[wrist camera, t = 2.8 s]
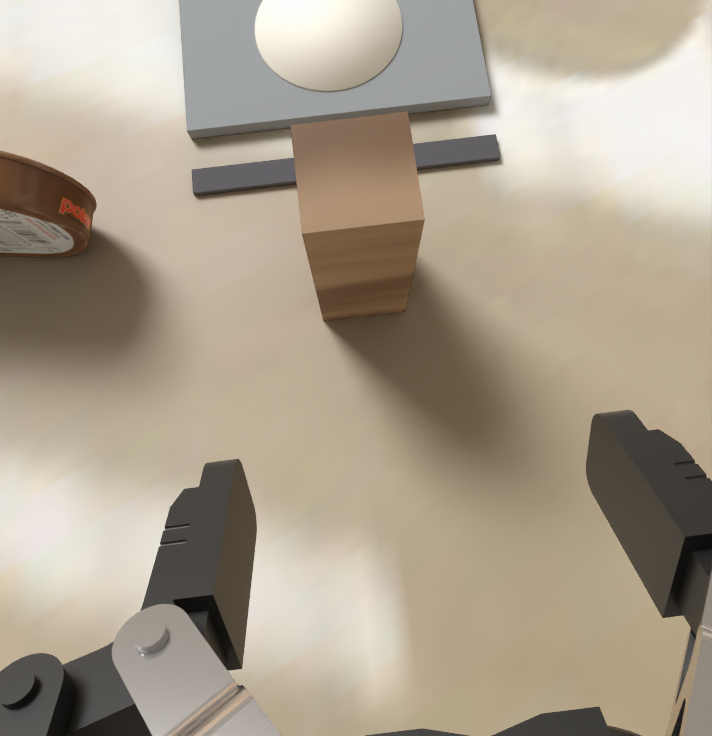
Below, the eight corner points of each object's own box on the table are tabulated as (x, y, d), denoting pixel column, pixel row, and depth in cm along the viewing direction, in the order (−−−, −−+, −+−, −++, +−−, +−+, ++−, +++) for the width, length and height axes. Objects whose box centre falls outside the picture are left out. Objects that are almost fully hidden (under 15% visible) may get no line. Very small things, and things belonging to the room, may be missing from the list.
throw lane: (499, 160, 34) (502, 151, 33) (194, 195, 34) (190, 187, 33) (457, -58, 38) (459, -71, 37) (180, -26, 38) (176, -39, 37)
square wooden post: (405, 311, 32) (424, 219, 22) (323, 320, 32) (301, 233, 22) (394, 235, 33) (407, 111, 23) (314, 244, 33) (290, 124, 23)
